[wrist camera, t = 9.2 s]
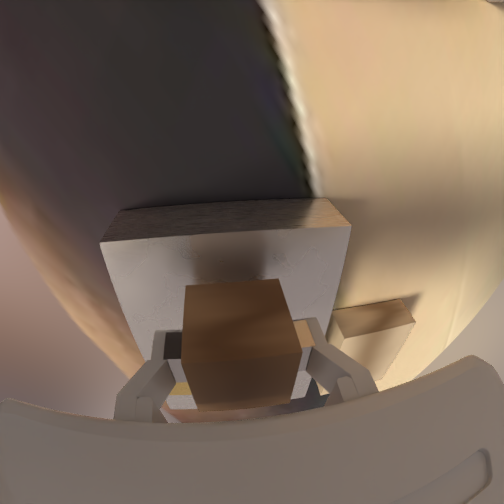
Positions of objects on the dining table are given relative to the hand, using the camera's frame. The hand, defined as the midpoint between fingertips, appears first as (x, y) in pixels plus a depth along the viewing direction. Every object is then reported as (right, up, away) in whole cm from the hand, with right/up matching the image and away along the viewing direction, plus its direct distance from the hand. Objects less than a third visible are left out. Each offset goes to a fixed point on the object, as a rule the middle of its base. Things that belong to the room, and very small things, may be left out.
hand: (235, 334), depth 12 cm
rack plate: (-1, -1, +8) cm, 8 cm away
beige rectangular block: (+10, -5, +12) cm, 17 cm away
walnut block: (0, +1, +1) cm, 1 cm away
